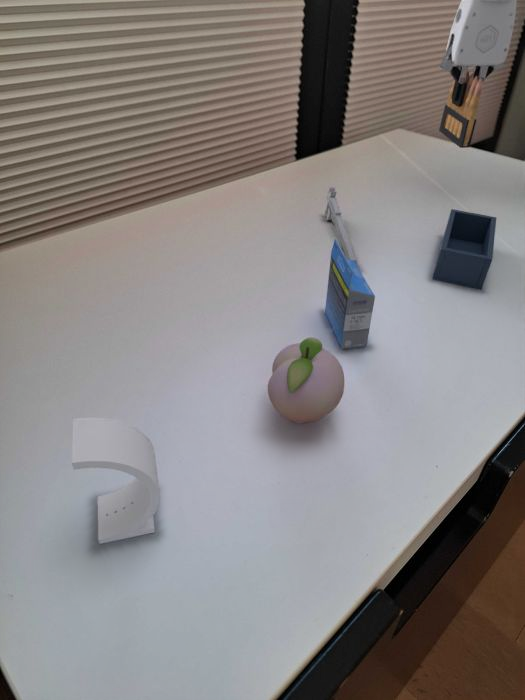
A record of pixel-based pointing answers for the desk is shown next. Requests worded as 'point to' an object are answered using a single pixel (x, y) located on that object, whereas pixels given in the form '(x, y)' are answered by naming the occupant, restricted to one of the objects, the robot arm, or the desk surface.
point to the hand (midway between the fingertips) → (462, 103)
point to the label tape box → (348, 301)
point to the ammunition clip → (462, 114)
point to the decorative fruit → (305, 382)
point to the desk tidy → (466, 249)
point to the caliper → (338, 223)
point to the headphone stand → (124, 455)
